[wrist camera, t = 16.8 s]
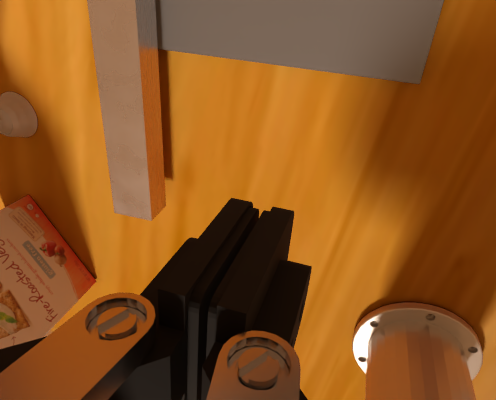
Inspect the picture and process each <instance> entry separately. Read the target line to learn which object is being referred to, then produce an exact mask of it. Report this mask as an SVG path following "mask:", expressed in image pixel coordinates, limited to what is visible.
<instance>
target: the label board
mask: <svg viewBox="0 0 496 400" xmlns="http://www.w3.org/2000/svg"><path fill="white" fill-rule="evenodd" d="M443 2H444V0H155V7H156V26H157V45H158V49H163V50H170V51H178V52H185V53H193V54H200V55H207V56H215V57H222V58H229V59H237V60H244V61H252V62H259V63H266V64H274V65H281V66H289V67H296V68H303V69H311V70H318V71H325V72H333V73H340V74H348V75H355V76H362V77H370V78H377V79H385V80H392V81H399V82H407V83H414V84H420V81H421V78H422V75H423V71H424V68H425V64H426V61H427V57H428V54H429V50H430V47H431V43H432V40H433V37H434V33H435V30H436V26H437V23H438V19H439V16H440V12H441V9H442V5H443Z"/></svg>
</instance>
